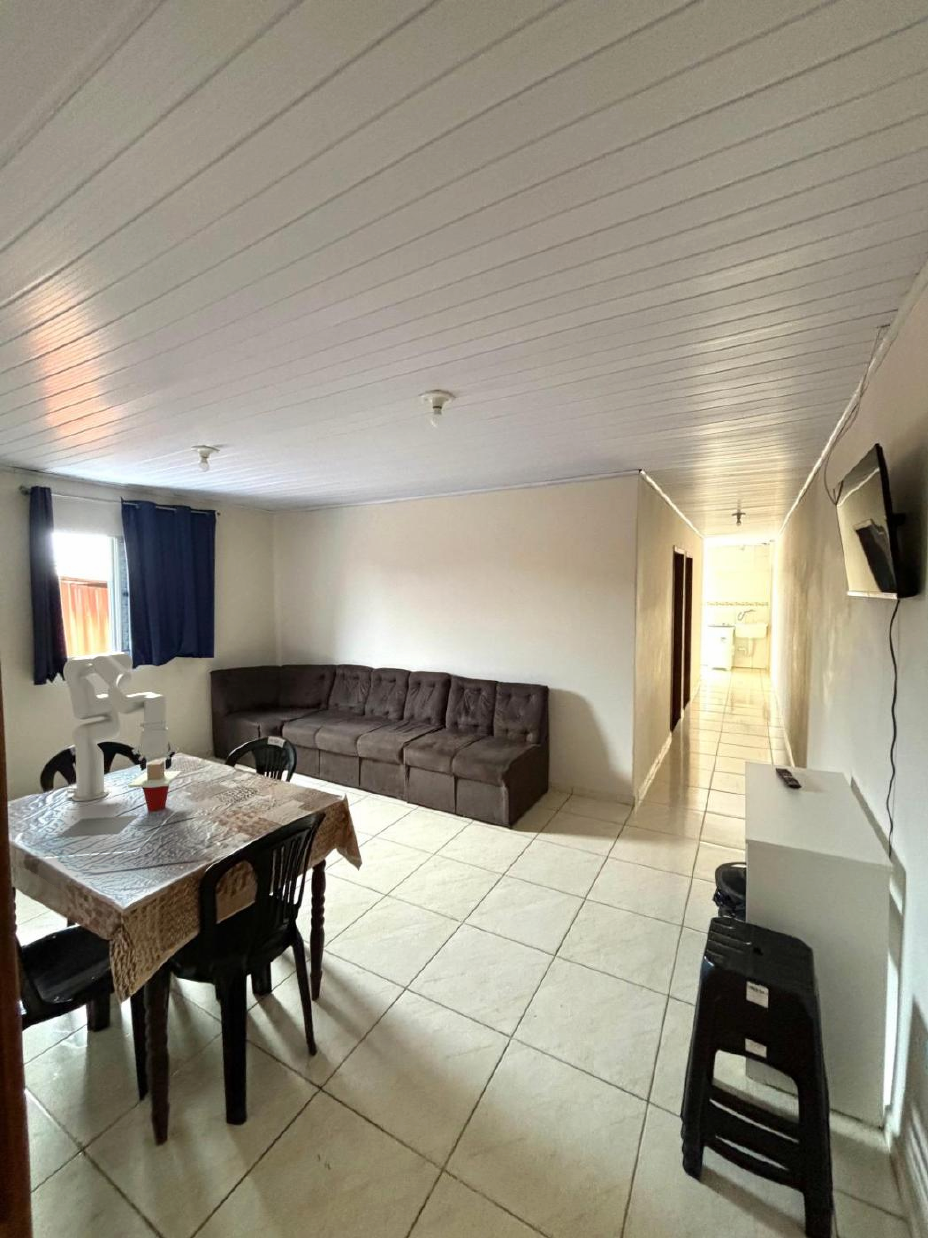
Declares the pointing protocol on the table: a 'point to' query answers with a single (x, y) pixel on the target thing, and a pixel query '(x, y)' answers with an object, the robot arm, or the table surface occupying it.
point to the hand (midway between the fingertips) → (155, 768)
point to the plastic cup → (156, 797)
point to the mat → (98, 826)
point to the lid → (155, 776)
